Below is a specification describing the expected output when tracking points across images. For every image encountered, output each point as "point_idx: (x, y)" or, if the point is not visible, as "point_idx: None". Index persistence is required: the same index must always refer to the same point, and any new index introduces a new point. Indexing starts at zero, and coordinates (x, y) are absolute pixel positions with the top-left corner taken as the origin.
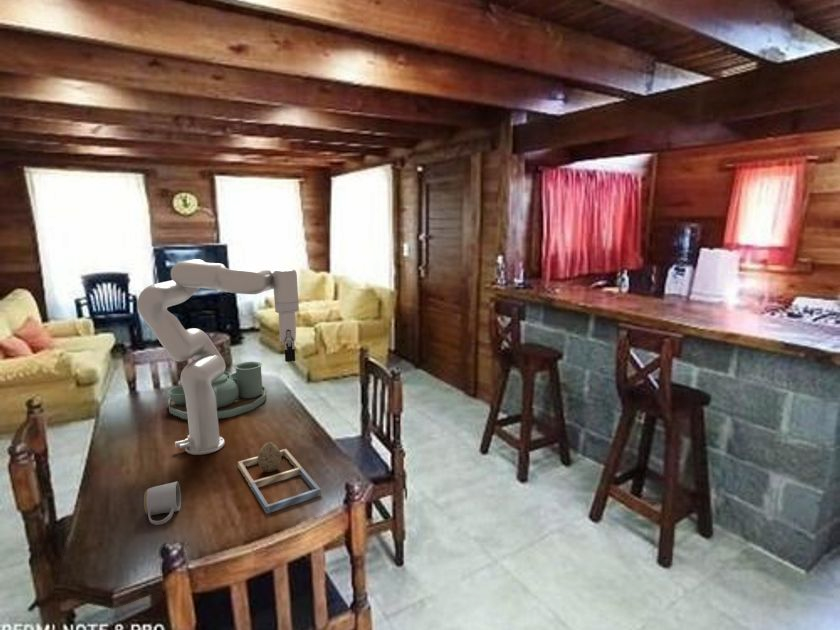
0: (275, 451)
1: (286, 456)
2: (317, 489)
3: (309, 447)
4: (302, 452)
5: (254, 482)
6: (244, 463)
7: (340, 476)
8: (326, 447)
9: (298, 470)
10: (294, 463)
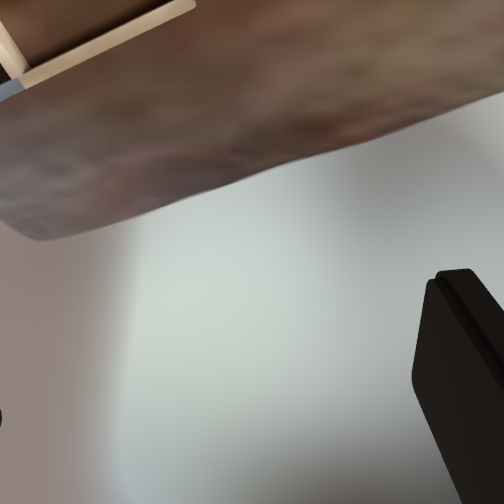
0: None
1: (154, 9)
2: None
3: (241, 103)
4: (202, 75)
5: None
6: None
7: (20, 208)
8: (230, 166)
9: (10, 73)
10: (63, 54)
